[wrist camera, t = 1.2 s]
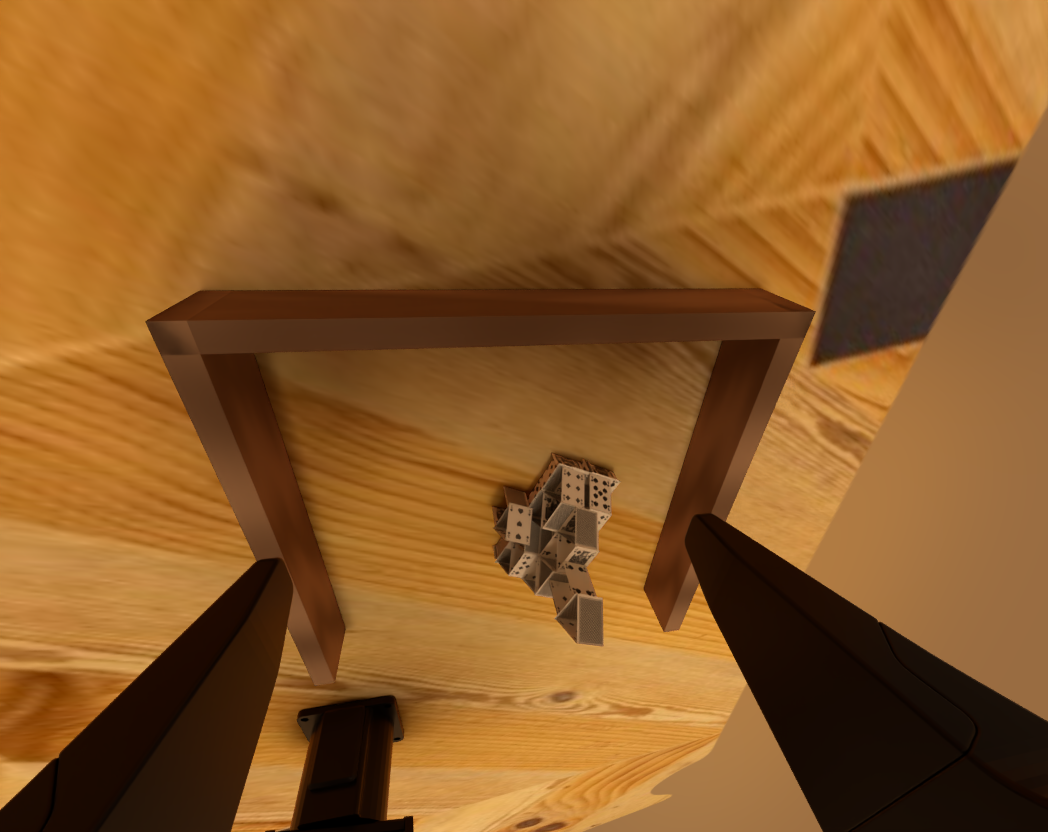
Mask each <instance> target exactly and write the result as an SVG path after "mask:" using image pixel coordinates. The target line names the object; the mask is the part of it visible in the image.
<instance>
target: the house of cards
mask: <svg viewBox="0 0 1048 832" xmlns="http://www.w3.org/2000/svg"><path fill="white" fill-rule="evenodd" d="M551 454H552V456H553V460H552V462H551V463H550V465H549V466H548V468H547V469H546V471H545V472H544V474H543V475H542V477H541V478H540V480H539V481H538V483H537V484H536V486H535V487H534V489H533V490H532V492H531V493H530V495H529V496H528V498H527V497H526V493H525V492H522V491H519V490H515V489H512V488H508V487H504V486H503V487H504V492H505V497H506V503H507V506H508V507H507V508H506V509H502V508H499V507H495V506H492V509H493V516H494V523H495V527H494V529H495V530H496V531H497V532H498V533H499V534H500V535H501V536H502V537H501V539H500V540H499V542H498V543H497V545H496V546H495V545H493V549H494V556H495V559H497V560H496V561H495V563H499V564H500V565H501V567H502V568H503V569H504V570H505V572H506V573H507V574H508V576H513V577H519V578H521V579H523V580H524V581H525V583H526V584H527V585H528V586H529V587H530V588H531V590H532V591H533V592H534V593H535V595H538V596H544V597H549V598H553V600H554V604H555V608H556V611H557V616H556V617H555V618H554V619H556V620H557V621H558V622H559V623H560V624H561V626H562V627H563V628H564V629H565V630H566V631H567V633H568V634H569V635H570V636H571V637H572V638H573V639H574V641H575V642H576V643H579V644H587V645H596V646H603V598H600V597H597V596H596V593H595V590H594V588H593V585H592V582H591V579H590V576H589V573H588V571H587V568H586V567H587V566H588V565H589V564H590V562H591V561H592V560H593V559H594V558H595V556H596V555H597V554H598V553H599V552H600V551H599V547H598V532H599V530H600V529H601V528H602V527H603V525H604V524H605V523H606V522H607V520H608V519H609V518H610V517H611V493H612V492H613V491H614V490H615V488H616V487H617V486H618V484H619V483H620V482H621V481H619V480H617V478H616V476H615V475H614V473H613V472H612V471H609V470H606V469H603V468H600V467H597V466H594V465H591V464H590V463H589V461H588V460H587V461H586V462H585V460H584V459H583V460H582V462H581V463H580V462H577V461H574V460H571V459H568V458H565V457H562V456H559V455H556V454H553V453H551Z"/></svg>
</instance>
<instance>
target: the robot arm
mask: <svg viewBox="0 0 1048 832" xmlns="http://www.w3.org/2000/svg"><path fill="white" fill-rule="evenodd" d="M684 542H685V547H686V550H687V553H688V555H689V558H690V561H691V563H692V566H693V568H694V571H695V573H696V576H697V578H698V581H699V583H700V586H701V589H702V591H703V594H704V596H705V599H706V601H707V603H708V606H709V608H710V610H711V612H712V614H713V617H714V619H715V621H716V623H717V625H718V627H719V628H720V630H721V632H722V634H723V636H724V638H725V640H726V642H727V644H728V646H729V648H730V650H731V652H732V654H733V656H734V658H735V660H736V662H737V664H738V666H739V668H740V670H741V672H742V674H743V676H744V678H745V680H746V682H747V683H748V685H749V687H750V689H751V691H752V693H753V695H754V697H755V699H756V701H757V703H758V705H759V707H760V709H761V711H762V713H763V715H764V717H765V719H766V721H767V723H768V725H769V727H770V729H771V731H772V733H773V734H774V737H775V738H776V740H777V742H778V744H779V746H780V748H781V750H782V752H783V754H784V756H785V758H786V760H787V762H788V764H789V766H790V768H791V770H792V772H793V774H794V776H795V778H796V780H797V782H798V784H799V786H800V788H801V790H802V791H803V793H804V795H805V797H806V799H807V801H808V803H809V805H810V807H811V809H812V811H813V813H814V815H815V817H816V819H817V821H818V823H819V825H820V827H821V829H822V831H823V832H1048V721H1046V720H1044V719H1043V718H1041V717H1039V716H1037V715H1036V714H1034V713H1032V712H1030V711H1029V710H1027V709H1025V708H1023V707H1022V706H1020V705H1018V704H1016V703H1015V702H1013V701H1011V700H1010V699H1008V698H1006V697H1004V696H1002V695H1001V694H999V693H997V692H996V691H994V690H992V689H990V688H989V687H987V686H985V685H983V684H982V683H980V682H978V681H976V680H975V679H973V678H971V677H970V676H968V675H966V674H965V673H963V672H961V671H959V670H958V669H956V668H954V667H953V666H951V665H949V664H948V663H946V662H944V661H942V660H941V659H939V658H938V657H936V656H934V655H933V654H931V653H929V652H928V651H926V650H925V649H923V648H921V647H920V646H918V645H917V644H915V643H913V642H912V641H910V640H909V639H907V638H905V637H904V636H902V635H901V634H899V633H897V632H896V631H894V630H893V629H891V628H890V627H888V626H887V625H885V624H883V623H882V622H878V621H877V619H876V618H874V617H873V616H871V615H869V614H868V613H866V612H865V611H863V610H862V609H860V608H858V607H857V606H855V605H854V604H852V603H851V602H849V601H848V600H846V599H845V598H843V597H841V596H840V595H838V594H837V593H835V592H834V591H832V590H831V589H829V588H827V587H826V586H824V585H823V584H821V583H820V582H818V581H817V580H815V579H814V578H812V577H810V576H809V575H807V574H806V573H804V572H803V571H801V570H800V569H798V568H797V567H795V566H793V565H792V564H790V563H789V562H787V561H786V560H784V559H783V558H781V557H779V556H778V555H776V554H775V553H773V552H772V551H770V550H769V549H767V548H765V547H764V546H762V545H761V544H759V543H758V542H756V541H755V540H753V539H751V538H750V537H748V536H747V535H745V534H744V533H742V532H741V531H739V530H738V529H736V528H734V527H733V526H731V525H730V524H728V523H727V522H725V521H724V520H722V519H720V518H719V517H717V516H716V515H714V514H712V513H701V514H695V515H694V516H693V517H692V518H691V521H690V524H689V527H688V529H687V532H686V535H685V540H684ZM292 598H293V582H292V579H291V577H290V574H289V572H288V569H287V567H286V564H285V562H284V560H283V559H282V558H279V557H277V558H267V559H260V560H258V561H257V562H255V563H254V564H253V565H252V566H251V567H250V568H249V569H248V570H247V571H246V572H245V573H244V574H243V575H242V576H241V577H240V578H239V579H238V580H237V581H236V582H235V583H234V584H233V585H232V586H230V587H229V588H228V589H227V590H226V591H225V592H224V593H223V594H222V595H221V596H220V597H219V598H218V599H217V600H216V601H215V602H214V603H213V604H212V605H211V606H210V607H209V608H208V609H207V610H206V611H205V612H204V613H203V614H202V615H201V616H200V617H199V618H198V619H197V620H196V621H195V622H194V623H193V624H191V625H190V626H189V627H188V628H187V629H186V630H185V631H184V632H183V633H182V634H181V635H180V636H179V637H178V638H177V639H176V640H175V641H174V642H173V643H172V644H171V645H170V646H169V647H168V648H167V649H166V650H165V651H164V652H163V653H162V654H161V655H160V656H159V657H158V658H157V659H156V660H155V661H153V662H152V663H151V664H150V665H149V666H148V667H147V668H146V669H145V670H144V671H143V672H142V673H141V674H140V675H139V676H138V677H137V678H136V679H135V680H134V681H133V682H132V683H131V684H130V685H129V686H128V687H127V688H126V689H125V690H124V691H123V692H122V693H121V694H120V695H119V696H118V697H117V698H115V699H114V700H113V701H112V702H111V703H110V704H109V705H108V706H107V707H106V708H105V709H104V710H103V711H102V712H101V713H100V714H99V715H98V716H97V717H96V718H95V719H94V720H93V721H92V722H91V723H90V724H89V725H88V726H87V727H86V728H85V729H84V730H83V731H82V732H81V733H80V734H79V735H77V736H76V737H75V738H74V739H73V740H72V741H71V742H70V743H69V744H68V745H67V746H66V747H65V748H64V749H63V750H62V751H61V752H60V754H59V758H55V759H53V760H52V761H51V762H50V763H48V764H47V765H46V766H45V767H44V768H43V769H42V770H41V771H40V772H39V773H38V774H37V775H36V776H35V777H34V778H33V779H32V780H31V781H30V782H29V783H28V784H27V785H26V786H25V787H24V788H23V789H22V790H21V791H20V792H19V793H18V794H16V795H15V796H14V797H13V798H12V799H11V800H10V801H9V802H8V803H7V804H6V805H5V806H4V807H3V808H2V809H1V810H0V832H231V829H232V826H233V823H234V819H235V816H236V813H237V809H238V806H239V803H240V799H241V796H242V793H243V789H244V786H245V783H246V779H247V776H248V773H249V769H250V766H251V763H252V759H253V756H254V753H255V749H256V746H257V743H258V739H259V736H260V733H261V729H262V726H263V723H264V719H265V716H266V713H267V709H268V706H269V703H270V699H271V696H272V693H273V689H274V686H275V682H276V679H277V675H278V671H279V666H280V662H281V657H282V651H283V646H284V641H285V635H286V630H287V624H288V619H289V614H290V608H291V603H292ZM297 722H298V724H299V726H300V727H301V729H302V731H303V733H304V734H305V736H306V738H307V740H308V741H309V746H308V751H307V755H306V760H305V764H304V769H303V773H302V777H301V782H300V786H299V791H298V795H297V800H296V804H295V809H294V813H293V818H292V822H291V827H290V830H289V831H280V832H413V816H406V817H404V818H403V819H395V820H387V808H388V796H389V783H390V771H391V759H392V747H393V742H398V741H401V740H403V739H404V730H403V726H402V722H401V718H400V714H399V711H398V707H397V703H396V699H395V698H394V697H391V696H388V697H381V698H375V699H369V700H363V701H357V702H351V703H344V704H338V705H332V706H326V707H320V708H314V709H307V710H302V711H300V712H299V714H298V717H297ZM265 832H275V830H270V831H265Z"/></svg>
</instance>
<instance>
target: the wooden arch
mask: <svg viewBox="0 0 1048 832" xmlns="http://www.w3.org/2000/svg"><path fill="white" fill-rule="evenodd" d="M815 312H816V311H813V310H811V309H808V308H806V307H804V306H801V305H799V304H796V303H794V302H792V301H789V300H787V299H785V298H782V297H780V296H777V295H775V294H773V293H770V292H768V291H765V290H763V289H543V290H286V291H198V292H196V293H195V294H193V295H191V296H189V297H188V298H186V299H184V300H182V301H180V302H179V303H177V304H175V305H173V306H172V307H170V308H168V309H166V310H165V311H163V312H161V313H159V314H157V315H156V316H154V317H152V318H150V319H149V320H147V321H145V322H146V324H147V326H148V328H149V331H150V333H151V335H152V337H153V339H154V341H155V343H156V346H157V348H158V350H159V352H160V354H161V356H162V359H163V361H164V363H165V365H166V367H167V369H168V371H169V374H170V376H171V378H172V380H173V382H174V384H175V386H176V389H177V391H178V393H179V395H180V397H181V399H182V401H183V404H184V406H185V408H186V410H187V412H188V414H189V417H190V419H191V421H192V423H193V425H194V427H195V429H196V432H197V434H198V436H199V438H200V440H201V442H202V444H203V447H204V449H205V451H206V453H207V455H208V457H209V460H210V462H211V464H212V466H213V468H214V470H215V472H216V475H217V477H218V479H219V481H220V483H221V485H222V487H223V490H224V492H225V494H226V496H227V498H228V500H229V502H230V505H231V507H232V509H233V511H234V513H235V515H236V518H237V520H238V522H239V524H240V526H241V528H242V530H243V533H244V535H245V537H246V539H247V541H248V543H249V545H250V548H251V550H252V552H253V554H254V556H255V558H256V561H258V560H260V559H267V558H277V557H279V558H282V559H283V560H284V562H285V564H286V567H287V569H288V572H289V574H290V577H291V579H292V582H293V598H292V603H291V608H290V614H289V619H288V624H287V627H288V629H289V631H290V634H291V636H292V638H293V640H294V642H295V644H296V646H297V649H298V651H299V653H300V655H301V657H302V659H303V662H304V664H305V666H306V668H307V670H308V672H309V674H310V677H311V679H312V681H313V683H314V685H315V686H317V685H323V684H330V683H335V679H336V674H337V669H338V664H339V659H340V654H341V649H342V644H343V639H344V634H345V626H344V623H343V620H342V617H341V614H340V611H339V608H338V605H337V602H336V599H335V596H334V593H333V590H332V587H331V584H330V581H329V578H328V575H327V572H326V569H325V566H324V563H323V560H322V557H321V554H320V551H319V548H318V545H317V542H316V539H315V536H314V533H313V530H312V527H311V524H310V521H309V518H308V515H307V512H306V509H305V506H304V503H303V500H302V497H301V494H300V491H299V488H298V485H297V482H296V479H295V476H294V473H293V470H292V467H291V464H290V461H289V458H288V455H287V452H286V449H285V446H284V443H283V440H282V437H281V434H280V431H279V428H278V425H277V422H276V419H275V416H274V413H273V410H272V407H271V404H270V401H269V398H268V395H267V392H266V389H265V386H264V383H263V380H262V377H261V374H260V371H259V368H258V365H257V362H256V359H255V356H254V353H270V352H307V351H344V350H381V349H419V348H456V347H493V346H530V345H567V344H604V343H641V342H679V341H716V340H723V342H722V345H721V348H720V351H719V354H718V358H717V361H716V364H715V367H714V370H713V373H712V376H711V380H710V383H709V386H708V389H707V392H706V395H705V398H704V402H703V405H702V408H701V411H700V414H699V417H698V420H697V423H696V427H695V430H694V433H693V436H692V439H691V442H690V445H689V449H688V452H687V455H686V458H685V461H684V464H683V467H682V471H681V474H680V477H679V480H678V483H677V486H676V489H675V492H674V496H673V499H672V502H671V505H670V508H669V511H668V514H667V518H666V521H665V524H664V527H663V530H662V533H661V536H660V540H659V543H658V546H657V549H656V552H655V555H654V558H653V561H652V565H651V568H650V571H649V574H648V577H647V580H646V583H645V587H644V591H645V593H646V595H647V597H648V599H649V601H650V604H651V606H652V608H653V610H654V612H655V614H656V616H657V619H658V621H659V623H660V625H661V627H662V629H663V631H664V632H669V631H675V630H679V629H680V626H681V624H682V622H683V619H684V617H685V615H686V612H687V610H688V608H689V605H690V603H691V601H692V598H693V596H694V594H695V591H696V589H697V587H698V584H699V581H698V578H697V576H696V573H695V571H694V568H693V566H692V563H691V561H690V558H689V555H688V553H687V550H686V547H685V542H684V540H685V535H686V532H687V529H688V527H689V524H690V521H691V518H692V517H693V516H694V515H695V514H701V513H712V514H714V515H716V516H717V517H719V518H720V519H722V520H724V521H725V522H726V519H727V517H728V515H729V512H730V510H731V508H732V505H733V503H734V501H735V498H736V496H737V494H738V491H739V489H740V487H741V484H742V482H743V480H744V477H745V475H746V473H747V470H748V468H749V466H750V463H751V461H752V459H753V456H754V454H755V452H756V449H757V447H758V445H759V442H760V440H761V438H762V435H763V433H764V431H765V428H766V426H767V424H768V421H769V419H770V417H771V414H772V412H773V410H774V408H775V405H776V403H777V401H778V398H779V396H780V394H781V391H782V389H783V387H784V384H785V382H786V380H787V377H788V375H789V373H790V370H791V368H792V366H793V363H794V361H795V359H796V356H797V354H798V352H799V349H800V347H801V345H802V342H803V340H804V338H805V335H806V333H807V331H808V328H809V326H810V324H811V321H812V319H813V317H814V314H815Z"/></svg>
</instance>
